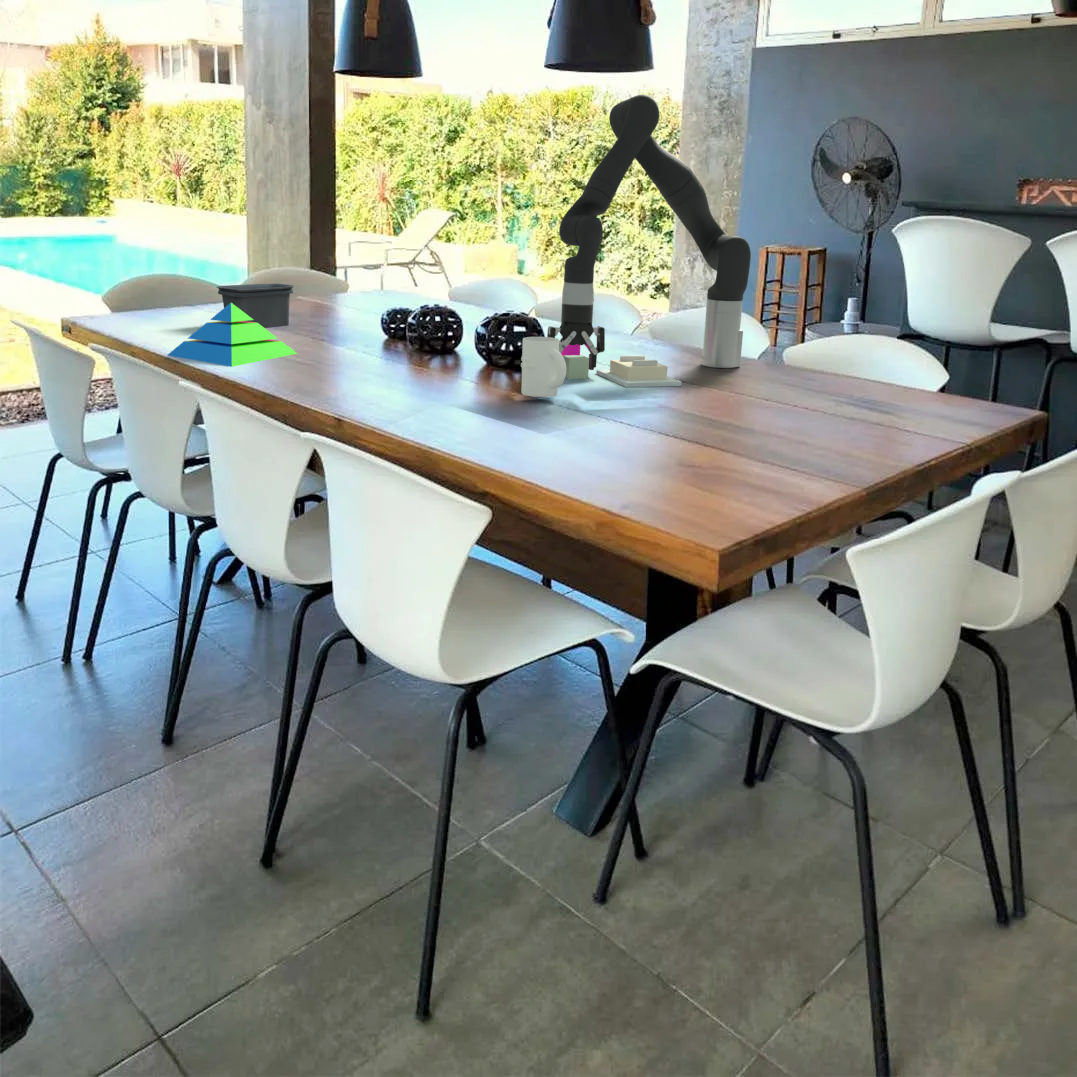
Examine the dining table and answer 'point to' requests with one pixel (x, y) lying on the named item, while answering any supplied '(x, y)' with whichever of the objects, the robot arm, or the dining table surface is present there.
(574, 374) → the sage cube
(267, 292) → the storage bin
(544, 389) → the mug
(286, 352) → the pyramid toy
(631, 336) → the dining table surface
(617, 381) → the base
